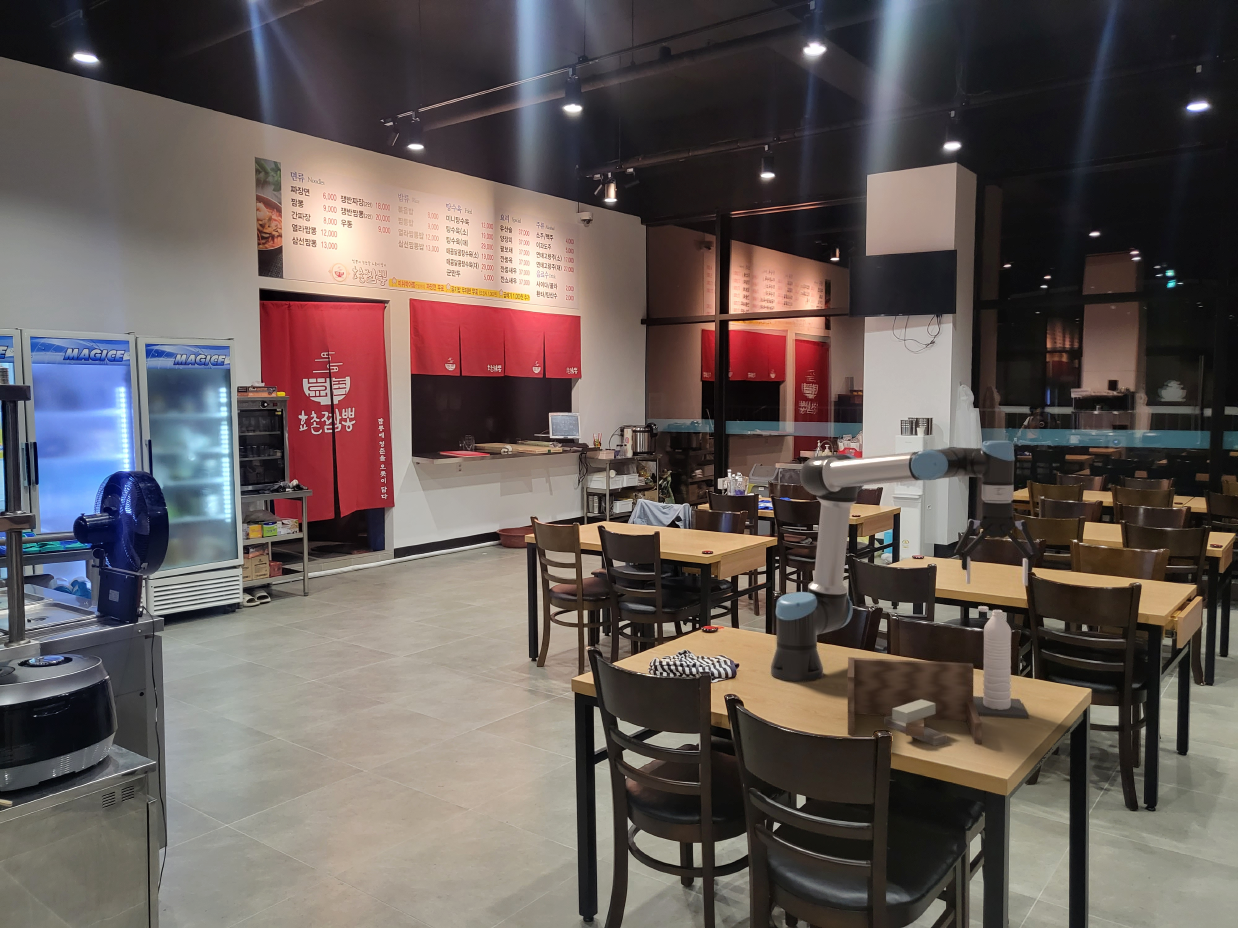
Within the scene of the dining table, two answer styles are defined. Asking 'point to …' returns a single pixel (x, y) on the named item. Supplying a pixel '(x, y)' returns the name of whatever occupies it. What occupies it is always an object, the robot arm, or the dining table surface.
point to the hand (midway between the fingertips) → (996, 583)
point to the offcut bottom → (929, 736)
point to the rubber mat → (1014, 710)
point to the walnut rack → (912, 689)
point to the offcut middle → (915, 728)
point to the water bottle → (997, 661)
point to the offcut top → (913, 711)
